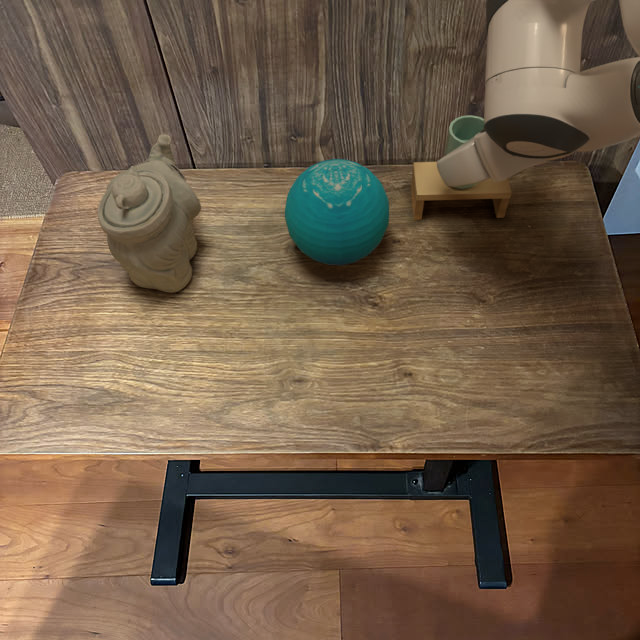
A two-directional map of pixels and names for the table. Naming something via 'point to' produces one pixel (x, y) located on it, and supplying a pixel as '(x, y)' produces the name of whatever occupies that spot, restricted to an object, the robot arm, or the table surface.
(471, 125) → the sage green tumbler
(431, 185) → the shelf
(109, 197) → the teapot
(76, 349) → the table surface
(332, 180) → the decorative orb
